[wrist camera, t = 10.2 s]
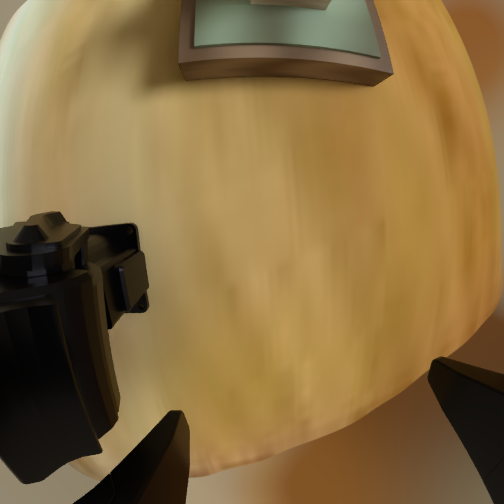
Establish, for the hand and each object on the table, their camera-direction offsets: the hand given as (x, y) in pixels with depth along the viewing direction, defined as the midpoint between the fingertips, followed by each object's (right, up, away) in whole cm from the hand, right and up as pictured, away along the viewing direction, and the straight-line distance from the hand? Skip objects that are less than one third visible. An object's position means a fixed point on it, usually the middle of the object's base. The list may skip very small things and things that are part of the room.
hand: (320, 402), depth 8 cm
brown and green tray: (0, +24, +7) cm, 25 cm away
